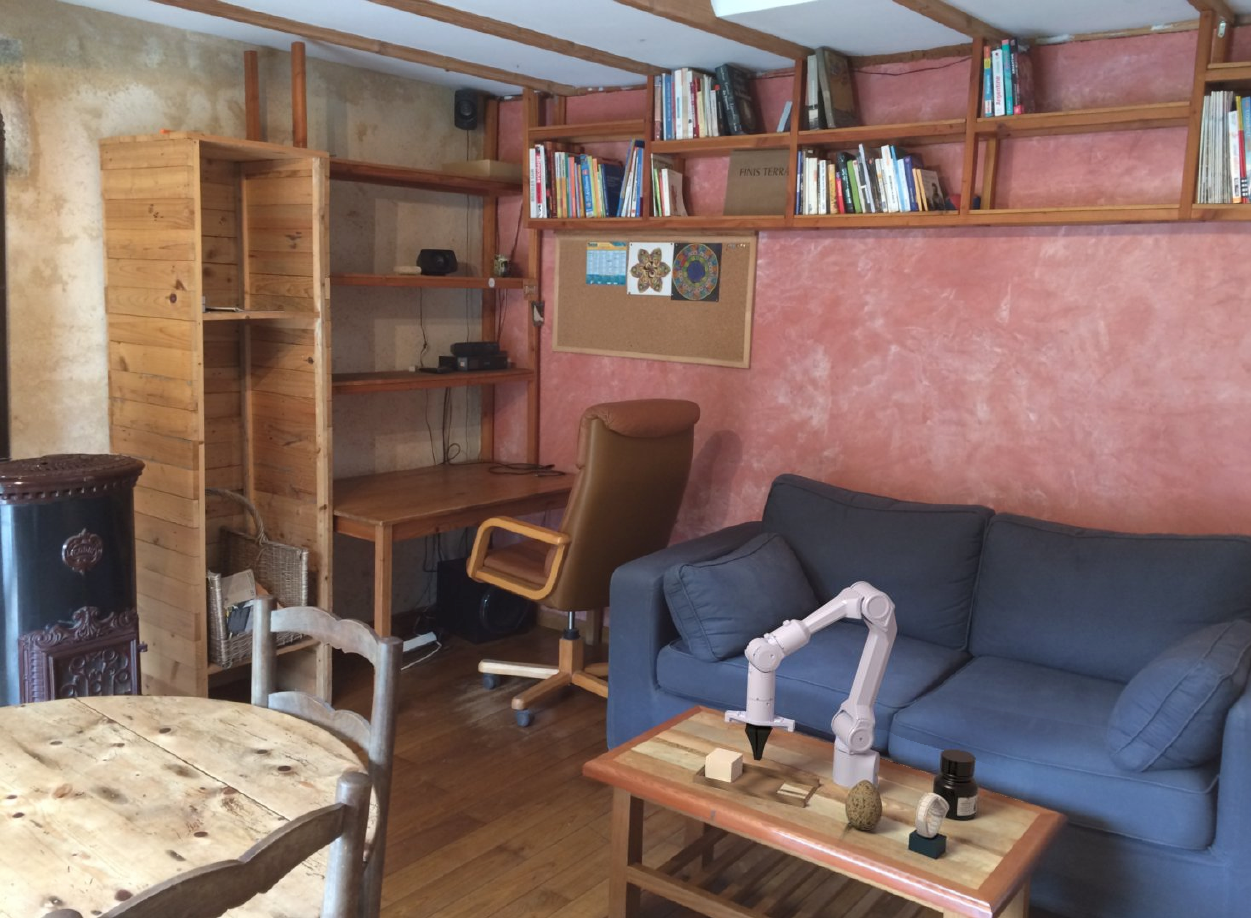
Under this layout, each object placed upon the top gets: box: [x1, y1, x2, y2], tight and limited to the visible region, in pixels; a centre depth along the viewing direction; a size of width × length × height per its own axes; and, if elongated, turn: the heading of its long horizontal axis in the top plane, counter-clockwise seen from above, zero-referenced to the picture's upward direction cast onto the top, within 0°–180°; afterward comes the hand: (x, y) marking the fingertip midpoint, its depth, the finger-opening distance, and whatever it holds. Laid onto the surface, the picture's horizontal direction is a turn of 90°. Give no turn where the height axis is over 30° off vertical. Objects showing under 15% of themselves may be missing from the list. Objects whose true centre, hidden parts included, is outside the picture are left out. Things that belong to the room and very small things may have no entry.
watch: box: [907, 792, 949, 860], centre depth 208 cm, size 6×8×11 cm
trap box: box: [692, 762, 821, 809], centre depth 232 cm, size 24×12×3 cm, turn 65°
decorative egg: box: [844, 780, 883, 831], centre depth 217 cm, size 7×7×10 cm
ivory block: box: [704, 747, 744, 783], centre depth 236 cm, size 6×6×4 cm
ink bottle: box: [932, 748, 979, 821], centre depth 225 cm, size 10×9×12 cm
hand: (757, 758), depth 232 cm, fingers closed
